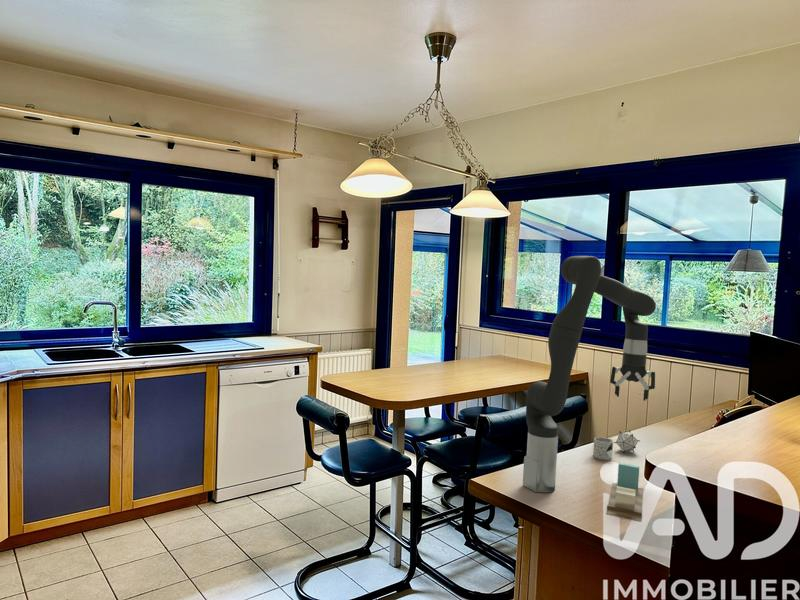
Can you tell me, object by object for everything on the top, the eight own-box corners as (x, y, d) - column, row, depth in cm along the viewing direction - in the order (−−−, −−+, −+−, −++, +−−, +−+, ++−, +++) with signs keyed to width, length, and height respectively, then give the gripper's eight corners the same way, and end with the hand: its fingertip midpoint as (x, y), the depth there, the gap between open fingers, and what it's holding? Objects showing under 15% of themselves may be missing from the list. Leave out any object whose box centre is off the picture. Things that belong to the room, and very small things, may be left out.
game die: (630, 462, 203) (643, 447, 197) (609, 452, 205) (622, 437, 199) (631, 445, 210) (644, 430, 204) (610, 436, 212) (623, 421, 206)
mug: (610, 461, 192) (611, 443, 192) (591, 457, 196) (592, 440, 195) (614, 454, 201) (615, 437, 201) (596, 450, 204) (597, 433, 204)
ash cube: (634, 513, 146) (635, 496, 145) (614, 509, 148) (615, 492, 148) (634, 506, 150) (635, 489, 150) (615, 502, 152) (617, 486, 152)
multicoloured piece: (641, 525, 141) (643, 496, 140) (605, 517, 145) (607, 489, 144) (643, 491, 164) (644, 466, 164) (612, 485, 168) (613, 461, 168)
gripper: (612, 350, 181) (608, 397, 181) (657, 355, 175) (653, 403, 175) (613, 349, 188) (609, 393, 188) (657, 353, 182) (653, 399, 182)
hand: (631, 398), depth 182 cm, fingers open, 8 cm apart
